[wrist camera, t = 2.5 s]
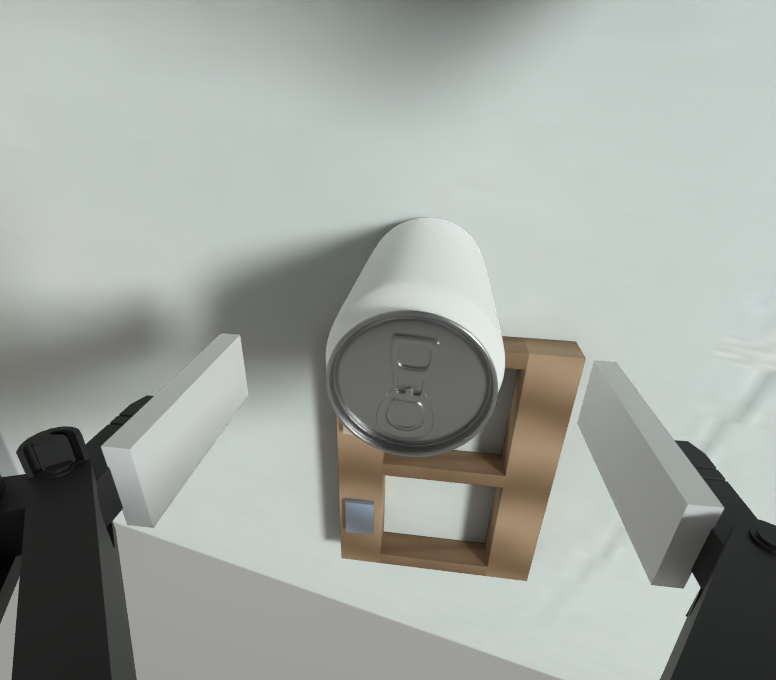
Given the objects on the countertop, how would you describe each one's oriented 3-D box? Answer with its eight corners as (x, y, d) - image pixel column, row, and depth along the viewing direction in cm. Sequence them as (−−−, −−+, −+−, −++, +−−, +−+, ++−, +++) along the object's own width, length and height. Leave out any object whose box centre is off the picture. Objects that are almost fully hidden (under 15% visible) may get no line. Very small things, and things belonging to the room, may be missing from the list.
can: (366, 317, 26) (311, 451, 16) (374, 208, 23) (313, 284, 13) (473, 331, 26) (489, 479, 15) (495, 222, 23) (535, 313, 12)
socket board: (341, 324, 27) (332, 342, 25) (575, 341, 26) (587, 361, 23) (346, 536, 35) (340, 562, 33) (522, 556, 34) (527, 586, 32)
